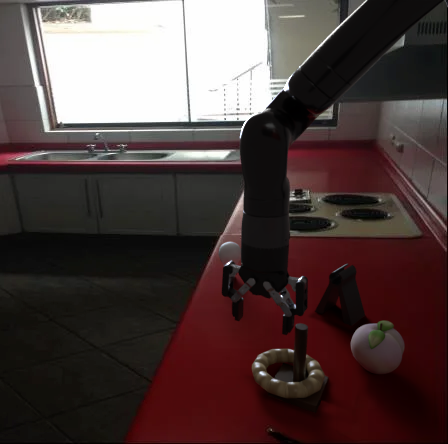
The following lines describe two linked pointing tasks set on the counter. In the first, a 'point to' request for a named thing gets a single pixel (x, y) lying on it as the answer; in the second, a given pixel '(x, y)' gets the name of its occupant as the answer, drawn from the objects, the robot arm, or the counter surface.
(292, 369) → the post
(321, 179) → the counter surface
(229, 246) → the lightbulb
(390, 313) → the counter surface
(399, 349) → the decorative fruit
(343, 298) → the phone stand
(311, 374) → the beige segmented ring
